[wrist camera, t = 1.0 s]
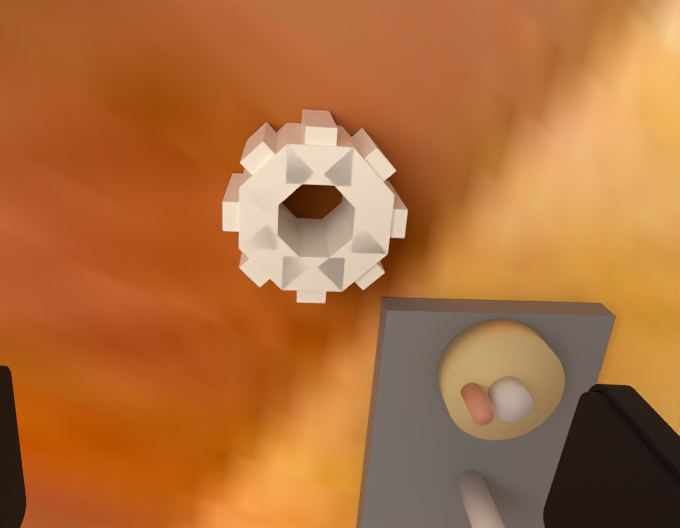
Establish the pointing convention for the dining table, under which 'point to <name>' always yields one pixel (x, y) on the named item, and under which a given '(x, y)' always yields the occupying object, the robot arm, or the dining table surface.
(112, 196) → the dining table surface
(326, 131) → the loose gear
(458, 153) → the dining table surface
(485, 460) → the gear board
